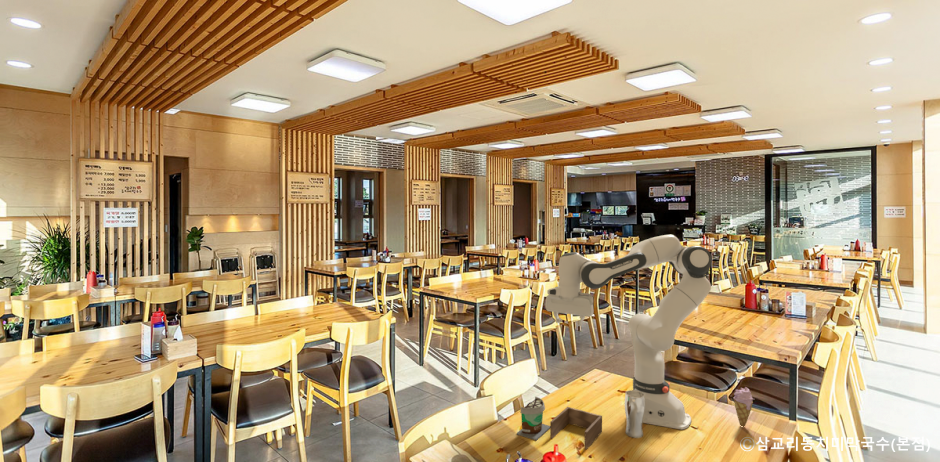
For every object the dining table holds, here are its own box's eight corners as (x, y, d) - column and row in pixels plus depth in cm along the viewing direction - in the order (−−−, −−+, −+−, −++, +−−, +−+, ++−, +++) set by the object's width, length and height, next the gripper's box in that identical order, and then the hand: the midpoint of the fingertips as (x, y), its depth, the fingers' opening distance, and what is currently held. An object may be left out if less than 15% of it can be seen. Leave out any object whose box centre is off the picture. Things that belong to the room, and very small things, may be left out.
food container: (535, 439, 162) (535, 411, 162) (520, 434, 166) (520, 407, 165) (550, 425, 172) (550, 399, 172) (535, 421, 176) (535, 396, 175)
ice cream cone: (757, 429, 170) (758, 390, 170) (745, 432, 168) (746, 392, 167) (740, 421, 176) (741, 383, 176) (729, 424, 174) (730, 386, 173)
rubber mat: (551, 427, 172) (551, 426, 172) (536, 440, 162) (536, 439, 162) (532, 421, 177) (532, 420, 177) (516, 434, 167) (516, 433, 167)
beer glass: (621, 429, 171) (622, 389, 170) (640, 429, 170) (641, 390, 170) (627, 438, 164) (628, 397, 163) (647, 438, 163) (648, 397, 163)
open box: (601, 431, 169) (602, 415, 168) (586, 449, 156) (586, 432, 156) (567, 421, 177) (567, 406, 176) (550, 438, 164) (550, 421, 164)
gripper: (596, 292, 187) (595, 326, 187) (550, 287, 199) (550, 319, 199) (590, 295, 182) (590, 329, 182) (543, 289, 193) (543, 322, 194)
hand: (568, 324), depth 191 cm, fingers open, 8 cm apart
